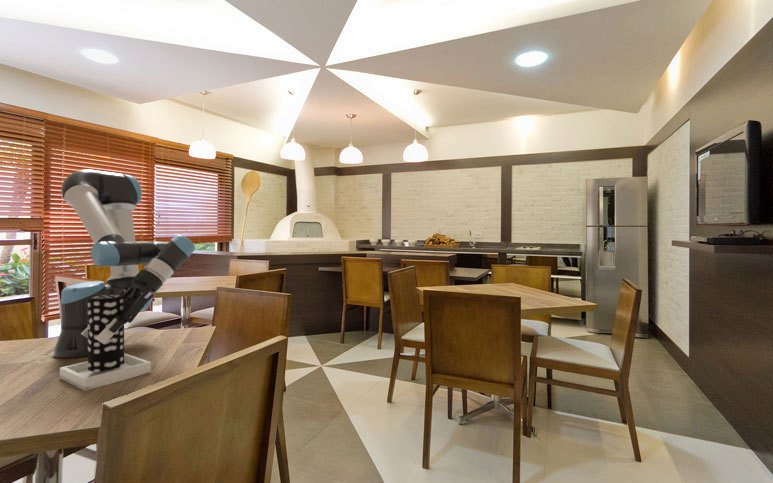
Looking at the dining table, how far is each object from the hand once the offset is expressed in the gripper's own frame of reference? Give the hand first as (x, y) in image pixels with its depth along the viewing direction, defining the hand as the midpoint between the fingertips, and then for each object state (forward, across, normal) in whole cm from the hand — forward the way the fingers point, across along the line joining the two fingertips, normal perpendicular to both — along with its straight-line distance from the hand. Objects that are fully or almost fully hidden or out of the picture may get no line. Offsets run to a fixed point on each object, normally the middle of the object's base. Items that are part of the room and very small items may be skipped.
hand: (92, 338), depth 104 cm
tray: (+6, 0, -10) cm, 12 cm away
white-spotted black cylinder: (+4, 0, -9) cm, 10 cm away
